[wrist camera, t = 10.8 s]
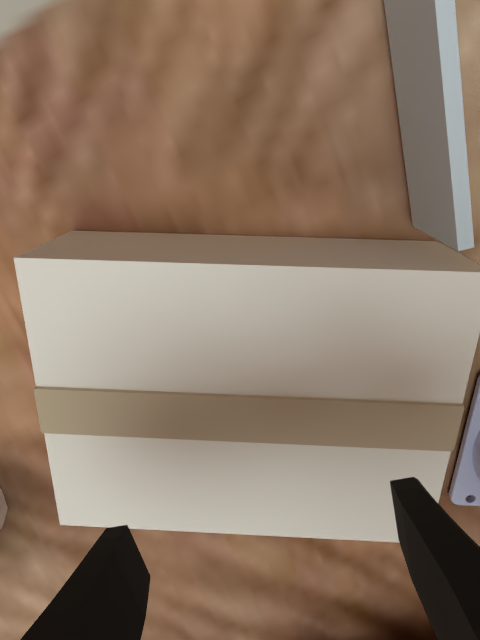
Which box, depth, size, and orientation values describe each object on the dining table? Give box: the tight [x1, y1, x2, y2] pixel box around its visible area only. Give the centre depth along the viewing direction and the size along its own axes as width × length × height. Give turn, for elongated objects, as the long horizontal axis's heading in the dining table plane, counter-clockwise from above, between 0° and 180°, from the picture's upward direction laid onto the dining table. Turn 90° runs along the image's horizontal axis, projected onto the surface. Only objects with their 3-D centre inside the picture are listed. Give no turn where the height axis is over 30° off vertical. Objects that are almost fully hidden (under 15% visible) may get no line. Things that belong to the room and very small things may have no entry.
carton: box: [14, 231, 480, 542], centre depth 19 cm, size 16×12×5 cm
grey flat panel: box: [384, 0, 474, 251], centre depth 12 cm, size 14×1×9 cm, turn 15°
